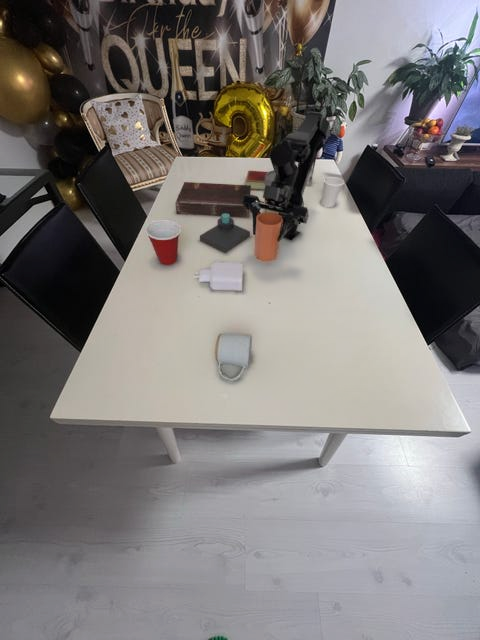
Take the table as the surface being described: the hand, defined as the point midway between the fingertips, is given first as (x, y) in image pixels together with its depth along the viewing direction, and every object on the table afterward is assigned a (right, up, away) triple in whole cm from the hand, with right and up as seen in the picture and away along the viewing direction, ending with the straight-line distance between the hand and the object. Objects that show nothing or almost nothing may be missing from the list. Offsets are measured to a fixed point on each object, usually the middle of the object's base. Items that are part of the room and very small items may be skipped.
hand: (265, 238), depth 85 cm
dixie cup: (+31, +27, +44) cm, 60 cm away
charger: (-14, -12, +8) cm, 20 cm away
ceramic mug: (-9, -34, -13) cm, 37 cm away
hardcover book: (+6, +40, +56) cm, 69 cm away
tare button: (-13, +13, +25) cm, 31 cm away
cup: (0, -4, +6) cm, 7 cm away
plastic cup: (-31, -4, +15) cm, 35 cm away
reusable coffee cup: (+8, +20, +37) cm, 43 cm away
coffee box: (+23, +44, +60) cm, 77 cm away
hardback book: (-18, +25, +41) cm, 51 cm away
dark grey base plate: (-13, +6, +24) cm, 28 cm away
